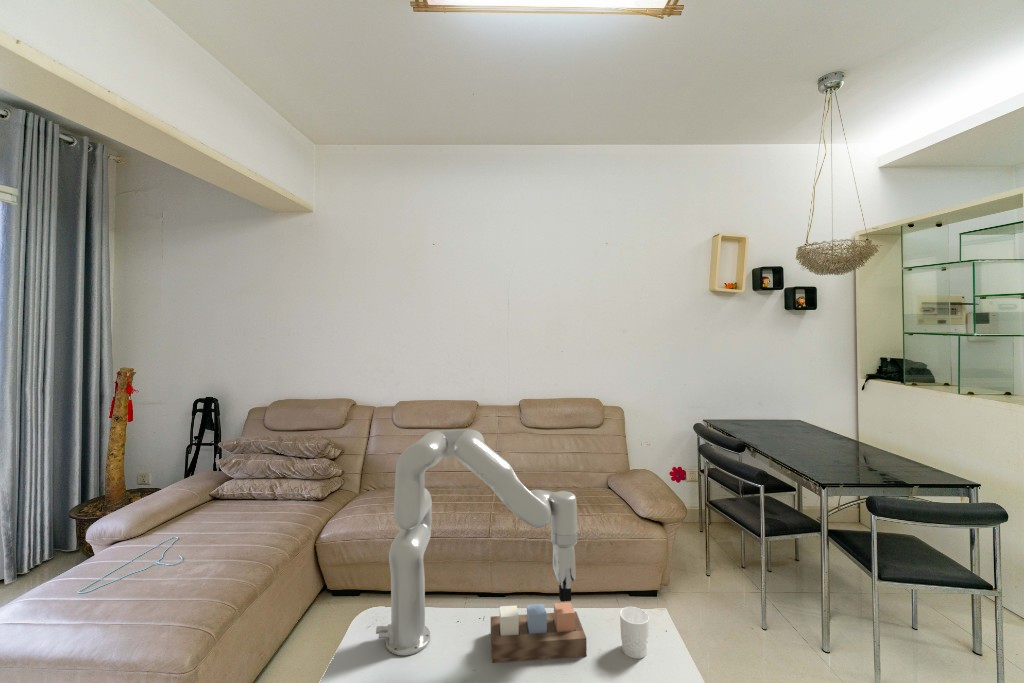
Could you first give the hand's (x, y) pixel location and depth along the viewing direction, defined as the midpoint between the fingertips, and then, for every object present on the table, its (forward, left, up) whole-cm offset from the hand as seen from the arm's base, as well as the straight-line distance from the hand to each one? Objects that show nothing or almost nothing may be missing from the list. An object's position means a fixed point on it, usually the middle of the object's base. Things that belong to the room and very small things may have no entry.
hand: (565, 599), depth 126 cm
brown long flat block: (-8, 0, -12) cm, 15 cm away
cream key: (-16, 0, -8) cm, 18 cm away
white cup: (+19, -5, -13) cm, 23 cm away
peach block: (0, 0, -8) cm, 8 cm away
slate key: (-8, 0, -8) cm, 12 cm away
